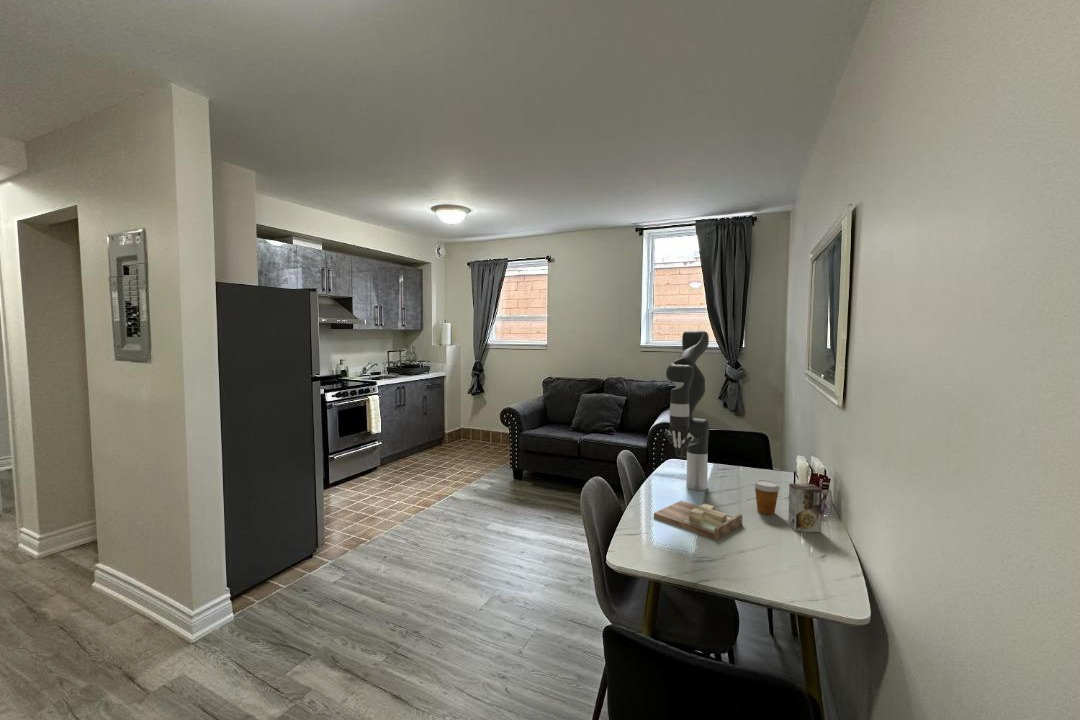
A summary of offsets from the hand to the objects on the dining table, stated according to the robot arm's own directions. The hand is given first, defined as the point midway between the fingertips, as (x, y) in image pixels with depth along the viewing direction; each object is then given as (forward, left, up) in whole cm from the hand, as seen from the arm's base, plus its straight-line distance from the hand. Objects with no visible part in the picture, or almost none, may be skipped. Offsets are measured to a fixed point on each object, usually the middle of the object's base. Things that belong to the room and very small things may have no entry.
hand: (678, 456), depth 181 cm
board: (+2, +10, -23) cm, 25 cm away
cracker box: (-22, +40, -23) cm, 51 cm away
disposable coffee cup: (-28, +24, -23) cm, 44 cm away
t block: (+2, +15, -21) cm, 26 cm away
